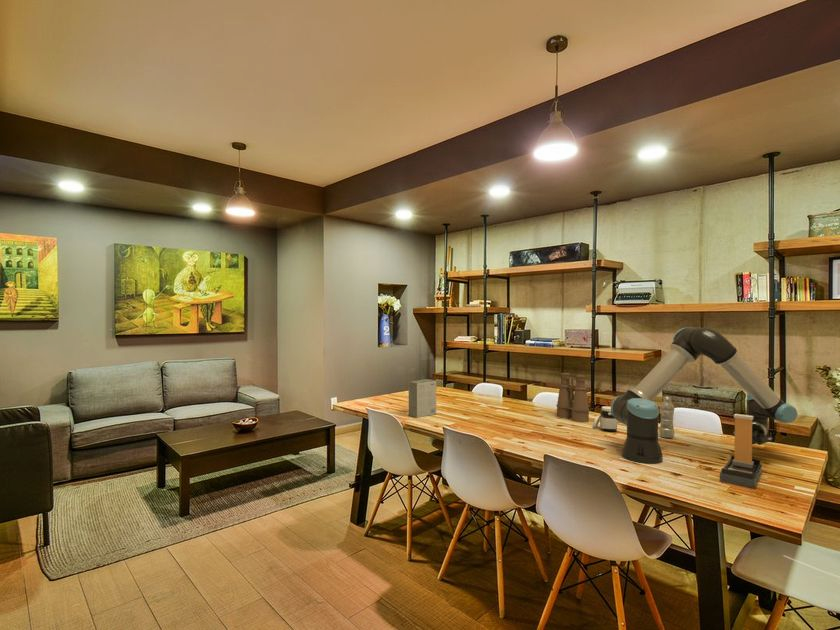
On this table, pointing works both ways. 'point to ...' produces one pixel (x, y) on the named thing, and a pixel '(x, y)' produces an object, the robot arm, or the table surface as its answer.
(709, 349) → the robot arm
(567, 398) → the binoculars
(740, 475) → the dark grey stand
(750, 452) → the tan upright block
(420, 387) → the hard drive box
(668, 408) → the plastic bottle
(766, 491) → the table surface
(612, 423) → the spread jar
